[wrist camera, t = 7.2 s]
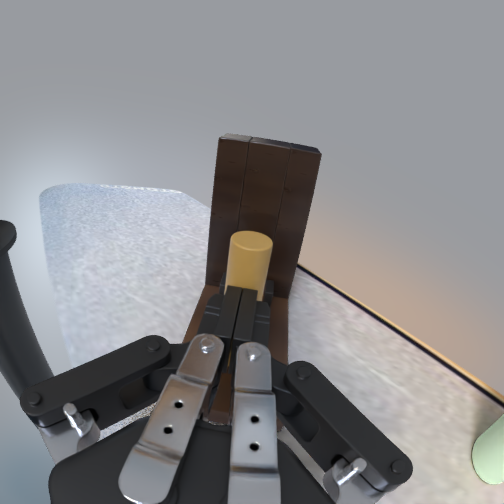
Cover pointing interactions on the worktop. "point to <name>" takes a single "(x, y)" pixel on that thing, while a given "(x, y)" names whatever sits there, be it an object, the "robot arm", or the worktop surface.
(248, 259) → the bolt
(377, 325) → the worktop surface
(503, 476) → the candle
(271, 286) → the latch
